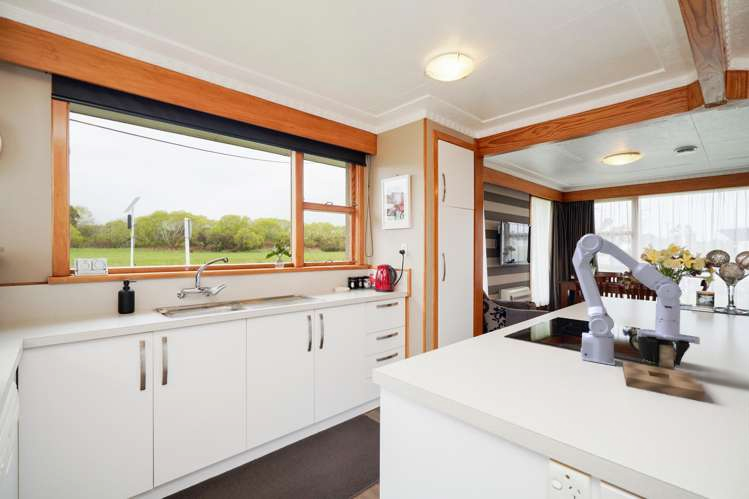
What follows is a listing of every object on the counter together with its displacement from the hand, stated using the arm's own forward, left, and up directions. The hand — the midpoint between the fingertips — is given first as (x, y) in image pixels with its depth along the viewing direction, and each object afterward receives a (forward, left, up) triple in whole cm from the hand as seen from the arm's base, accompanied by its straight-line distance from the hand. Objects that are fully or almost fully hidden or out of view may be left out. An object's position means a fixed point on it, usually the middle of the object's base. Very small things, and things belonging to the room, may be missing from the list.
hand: (666, 362), depth 104 cm
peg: (0, 0, -3) cm, 3 cm away
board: (-3, -12, -3) cm, 13 cm away
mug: (-3, +14, -4) cm, 15 cm away
